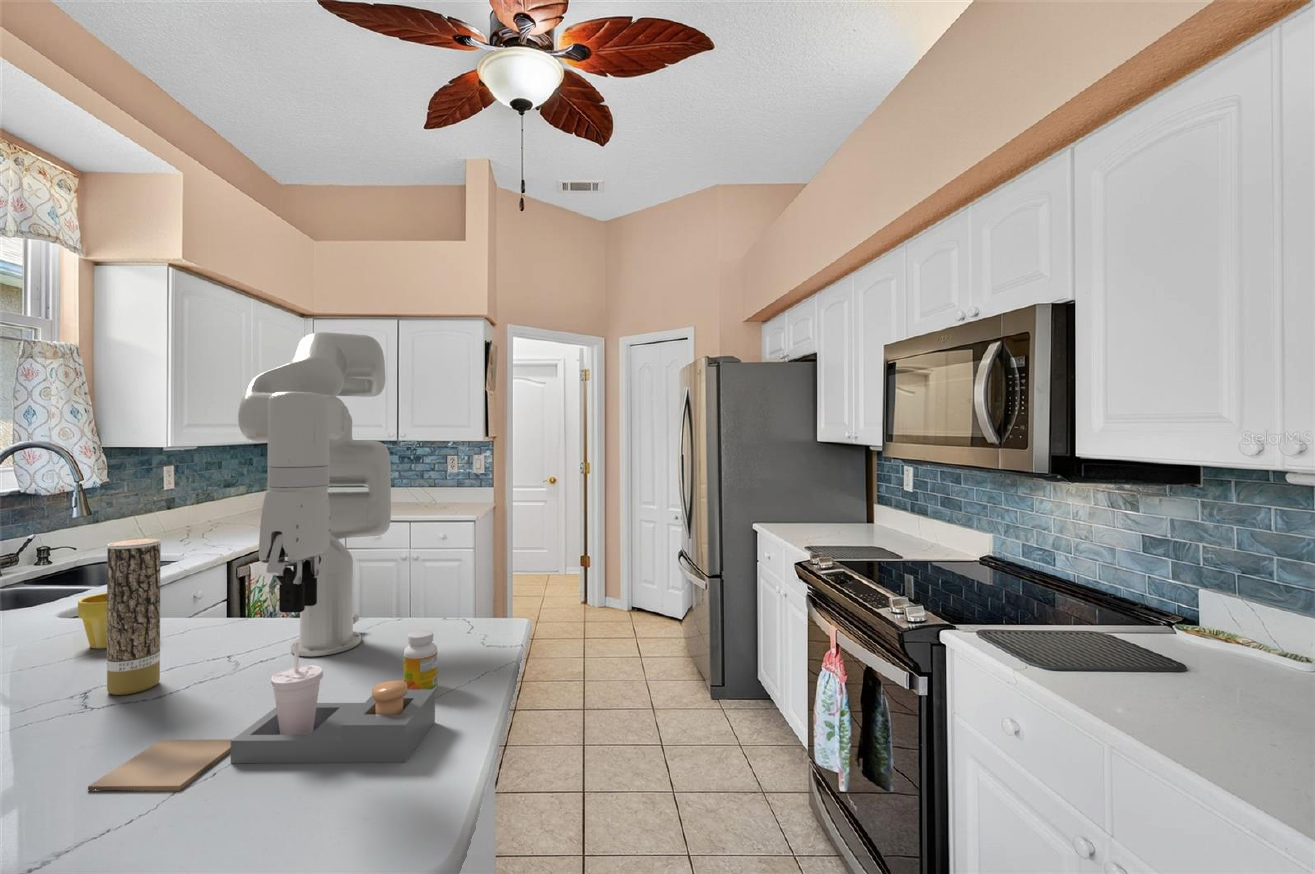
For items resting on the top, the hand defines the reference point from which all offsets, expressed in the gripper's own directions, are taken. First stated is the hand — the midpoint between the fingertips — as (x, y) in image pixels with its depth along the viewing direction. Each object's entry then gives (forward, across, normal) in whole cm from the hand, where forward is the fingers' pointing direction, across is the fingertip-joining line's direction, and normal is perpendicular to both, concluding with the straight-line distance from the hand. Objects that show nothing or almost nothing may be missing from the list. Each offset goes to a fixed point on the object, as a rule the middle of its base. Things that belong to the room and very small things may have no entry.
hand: (298, 607), depth 84 cm
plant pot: (+19, -40, -61) cm, 76 cm away
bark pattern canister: (+19, -18, -38) cm, 46 cm away
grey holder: (+19, 0, +6) cm, 20 cm away
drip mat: (+19, +6, -13) cm, 24 cm away
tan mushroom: (+18, 0, +13) cm, 22 cm away
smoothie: (+19, 0, 0) cm, 19 cm away
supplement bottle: (+19, -17, +11) cm, 28 cm away
